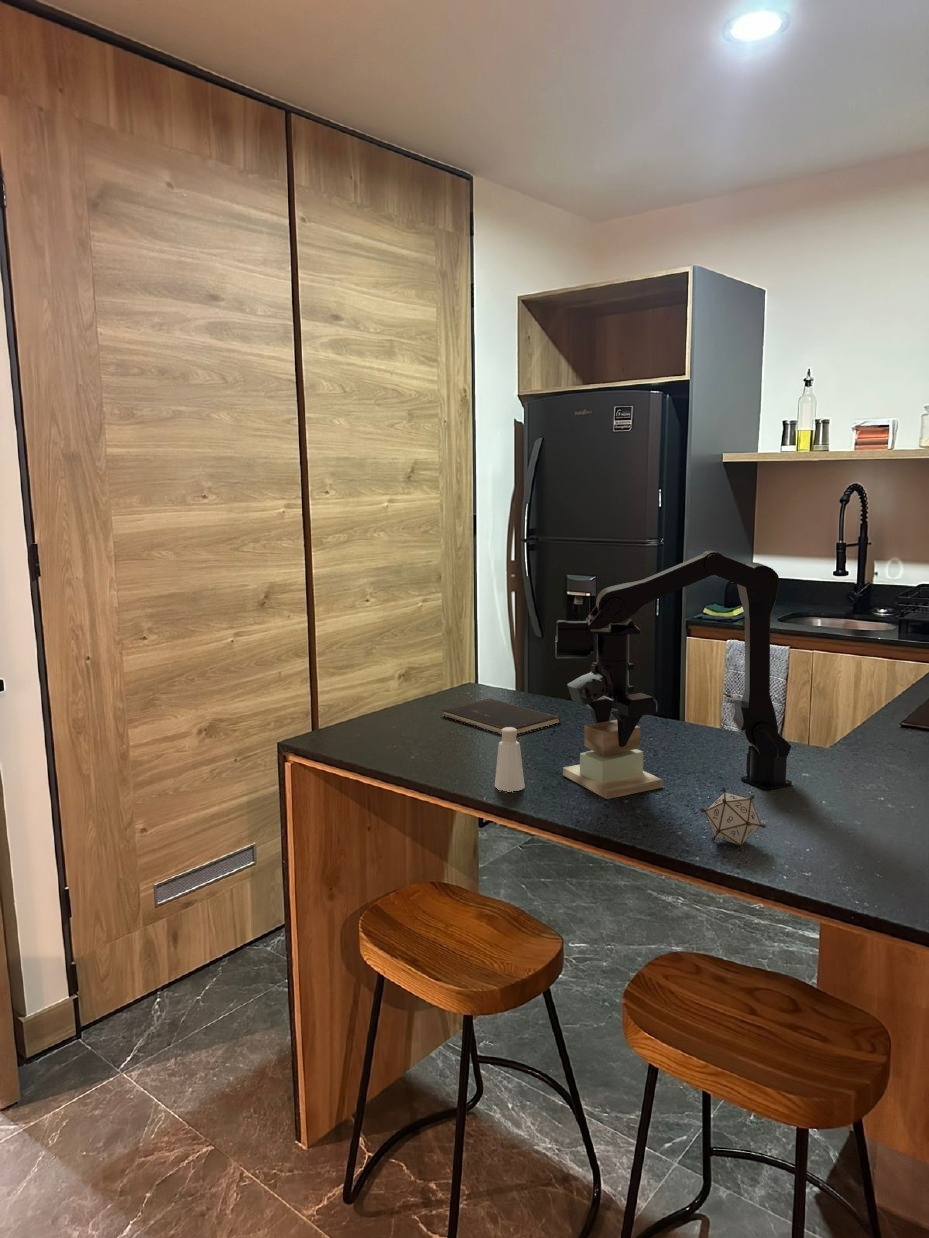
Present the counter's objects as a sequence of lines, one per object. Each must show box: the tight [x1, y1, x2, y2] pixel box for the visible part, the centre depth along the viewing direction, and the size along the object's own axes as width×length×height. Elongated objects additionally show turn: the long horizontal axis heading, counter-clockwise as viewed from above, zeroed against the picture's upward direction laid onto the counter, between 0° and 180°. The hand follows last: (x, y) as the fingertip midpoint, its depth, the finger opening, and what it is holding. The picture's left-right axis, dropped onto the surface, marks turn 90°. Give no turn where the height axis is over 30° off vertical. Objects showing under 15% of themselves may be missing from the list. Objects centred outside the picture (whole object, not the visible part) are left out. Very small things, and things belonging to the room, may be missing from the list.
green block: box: [579, 749, 644, 784], centre depth 159 cm, size 6×10×4 cm, turn 124°
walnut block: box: [583, 719, 641, 755], centre depth 159 cm, size 6×8×4 cm
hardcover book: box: [441, 698, 561, 734], centre depth 201 cm, size 16×23×2 cm
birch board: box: [562, 763, 663, 800], centre depth 160 cm, size 14×12×2 cm
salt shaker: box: [494, 727, 525, 793], centre depth 157 cm, size 5×5×11 cm
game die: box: [698, 786, 767, 851], centre depth 132 cm, size 9×8×10 cm
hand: (612, 741), depth 159 cm, fingers closed on walnut block, 6 cm apart
